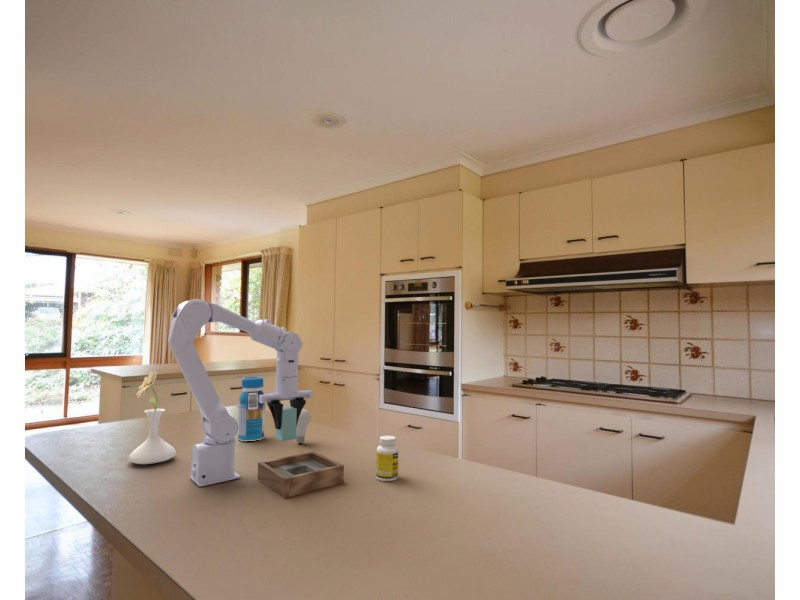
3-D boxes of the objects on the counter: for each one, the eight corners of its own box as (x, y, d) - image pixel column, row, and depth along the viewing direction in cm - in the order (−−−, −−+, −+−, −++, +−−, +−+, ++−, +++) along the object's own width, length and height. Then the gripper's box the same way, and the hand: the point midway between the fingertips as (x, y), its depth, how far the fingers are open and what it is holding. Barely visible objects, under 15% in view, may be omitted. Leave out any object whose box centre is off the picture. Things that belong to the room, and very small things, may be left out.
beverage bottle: (231, 441, 140) (233, 378, 142) (248, 435, 149) (249, 376, 150) (254, 443, 138) (255, 379, 139) (269, 437, 146) (271, 376, 147)
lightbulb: (312, 441, 141) (313, 407, 142) (306, 446, 135) (307, 410, 136) (294, 441, 141) (294, 406, 142) (287, 446, 135) (288, 410, 136)
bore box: (284, 498, 94) (284, 479, 95) (257, 479, 106) (257, 462, 106) (343, 482, 104) (343, 465, 104) (313, 466, 115) (313, 451, 116)
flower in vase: (133, 457, 123) (136, 368, 124) (178, 453, 127) (181, 367, 128) (122, 472, 111) (126, 372, 112) (172, 467, 115) (175, 371, 116)
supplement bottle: (395, 482, 104) (395, 440, 105) (373, 481, 105) (373, 439, 106) (400, 475, 109) (400, 435, 110) (379, 473, 110) (379, 434, 111)
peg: (282, 441, 114) (282, 410, 115) (275, 438, 117) (276, 408, 118) (296, 438, 117) (296, 408, 117) (289, 435, 120) (290, 406, 121)
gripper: (267, 379, 111) (266, 434, 110) (318, 375, 120) (317, 426, 119) (256, 377, 116) (255, 429, 115) (306, 373, 125) (305, 421, 124)
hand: (286, 427), depth 117 cm, fingers closed on peg, 4 cm apart
